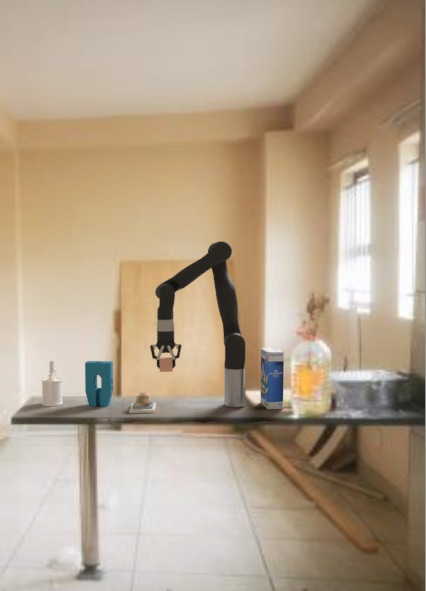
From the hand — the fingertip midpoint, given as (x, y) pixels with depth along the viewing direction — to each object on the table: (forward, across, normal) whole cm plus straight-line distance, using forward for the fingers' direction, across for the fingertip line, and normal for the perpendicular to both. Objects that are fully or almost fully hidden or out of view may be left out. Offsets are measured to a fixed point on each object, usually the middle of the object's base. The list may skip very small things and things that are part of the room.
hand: (166, 367), depth 229 cm
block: (+19, +31, -12) cm, 39 cm away
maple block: (+18, +11, -4) cm, 21 cm away
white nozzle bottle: (+19, +53, -15) cm, 58 cm away
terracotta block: (+1, 0, 0) cm, 1 cm away
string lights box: (+20, -48, -6) cm, 52 cm away
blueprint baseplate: (+19, +11, -4) cm, 22 cm away
